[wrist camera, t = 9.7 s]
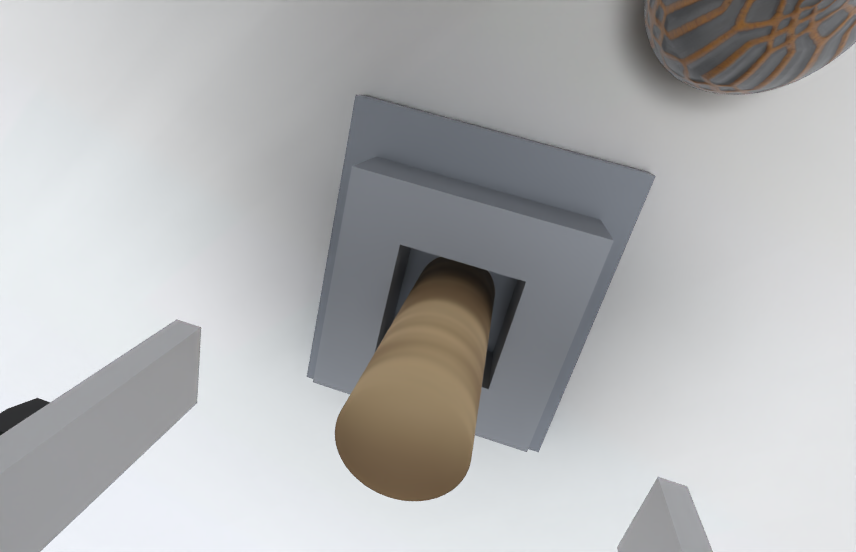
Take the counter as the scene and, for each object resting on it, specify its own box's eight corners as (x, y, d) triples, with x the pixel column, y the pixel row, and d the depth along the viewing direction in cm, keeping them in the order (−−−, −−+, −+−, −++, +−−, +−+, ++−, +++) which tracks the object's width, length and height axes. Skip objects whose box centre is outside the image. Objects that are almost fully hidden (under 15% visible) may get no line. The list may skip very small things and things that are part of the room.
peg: (428, 244, 24) (347, 366, 13) (505, 267, 24) (489, 412, 13) (410, 313, 26) (324, 475, 15) (482, 335, 25) (450, 518, 14)
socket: (363, 95, 24) (327, 94, 19) (649, 172, 22) (679, 189, 18) (314, 366, 30) (279, 412, 25) (537, 438, 28) (540, 499, 24)
